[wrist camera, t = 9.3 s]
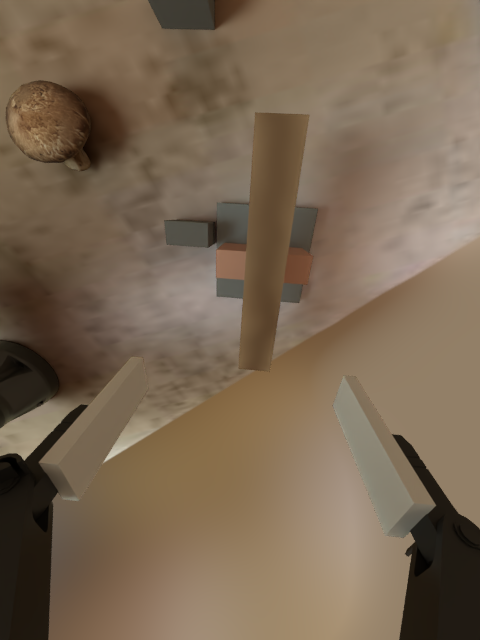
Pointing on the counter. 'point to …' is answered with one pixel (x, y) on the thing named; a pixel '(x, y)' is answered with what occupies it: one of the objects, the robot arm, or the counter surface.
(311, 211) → the fulcrum
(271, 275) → the rod
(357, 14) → the counter surface
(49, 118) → the mushroom
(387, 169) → the counter surface
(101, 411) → the robot arm
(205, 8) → the grey blocks
